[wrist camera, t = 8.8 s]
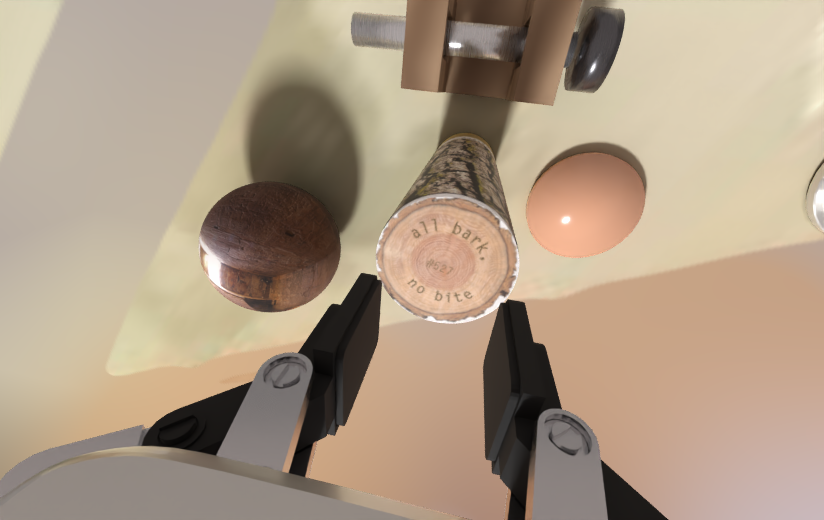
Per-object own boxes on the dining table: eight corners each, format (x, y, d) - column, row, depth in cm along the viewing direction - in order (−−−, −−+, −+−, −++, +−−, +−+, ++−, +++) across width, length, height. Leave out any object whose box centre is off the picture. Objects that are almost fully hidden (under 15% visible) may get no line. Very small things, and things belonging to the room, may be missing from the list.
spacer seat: (661, 160, 34) (666, 162, 33) (615, 261, 39) (618, 265, 38) (542, 145, 35) (544, 146, 34) (514, 245, 41) (515, 248, 40)
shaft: (605, 17, 27) (634, 0, 22) (582, 92, 29) (603, 93, 25) (366, -4, 29) (344, -23, 24) (364, 69, 32) (344, 65, 27)
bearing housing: (570, 5, 29) (606, -28, 21) (544, 103, 33) (566, 107, 25) (417, -8, 31) (396, -43, 23) (409, 87, 35) (388, 86, 26)
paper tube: (448, 121, 35) (402, 170, 14) (505, 146, 36) (550, 234, 14) (425, 178, 39) (359, 292, 17) (477, 201, 39) (478, 342, 17)
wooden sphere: (242, 166, 42) (137, 200, 29) (352, 171, 40) (292, 211, 27) (265, 267, 49) (189, 331, 36) (360, 276, 47) (315, 348, 34)
